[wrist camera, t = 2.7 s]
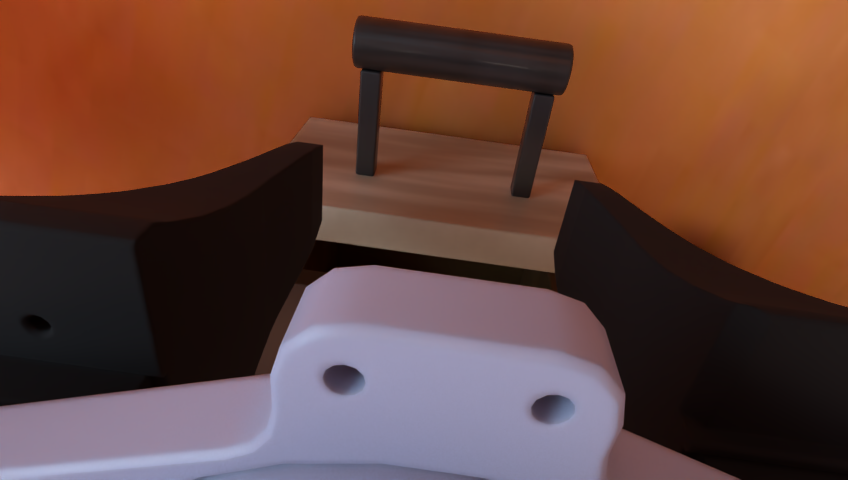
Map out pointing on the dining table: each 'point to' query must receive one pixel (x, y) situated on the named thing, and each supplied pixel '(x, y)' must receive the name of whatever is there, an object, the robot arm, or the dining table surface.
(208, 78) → the dining table surface
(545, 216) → the drawer
